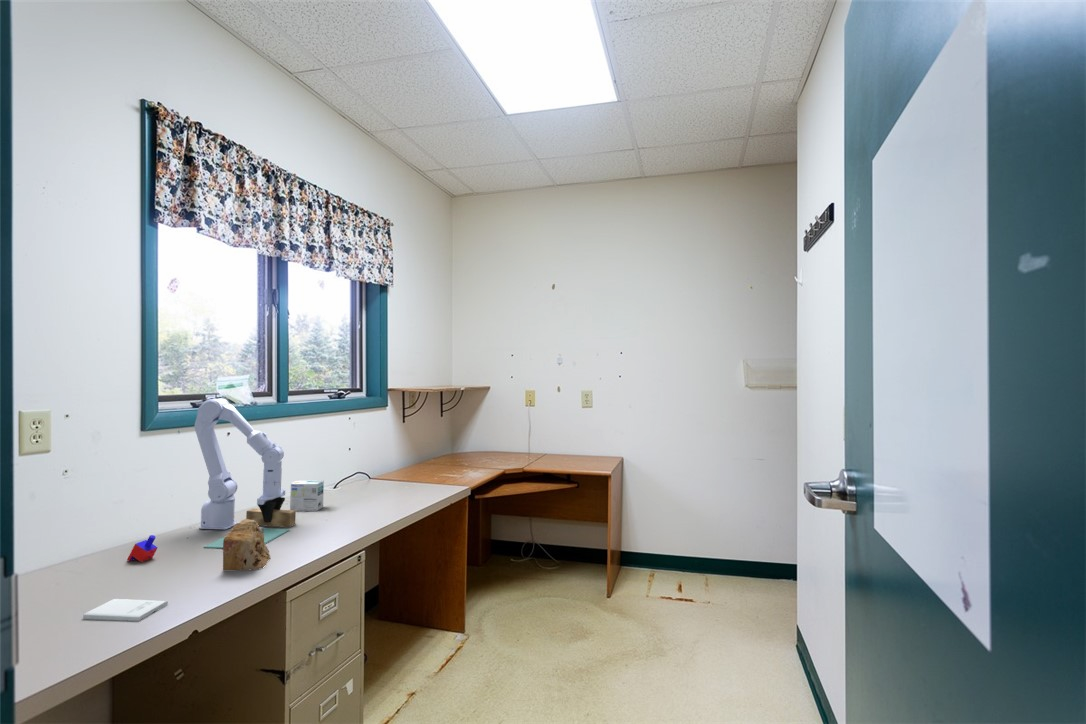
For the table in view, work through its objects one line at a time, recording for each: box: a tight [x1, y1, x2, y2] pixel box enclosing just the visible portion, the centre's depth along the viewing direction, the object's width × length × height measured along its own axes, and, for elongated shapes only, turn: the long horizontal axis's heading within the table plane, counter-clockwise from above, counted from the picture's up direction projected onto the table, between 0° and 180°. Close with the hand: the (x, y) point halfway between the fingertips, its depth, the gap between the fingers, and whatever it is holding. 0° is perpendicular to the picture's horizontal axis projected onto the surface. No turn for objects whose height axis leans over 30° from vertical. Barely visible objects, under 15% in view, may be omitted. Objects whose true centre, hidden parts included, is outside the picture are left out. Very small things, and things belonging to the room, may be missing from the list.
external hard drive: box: [82, 598, 169, 622], centre depth 116 cm, size 2×8×12 cm
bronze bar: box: [245, 508, 297, 528], centre depth 185 cm, size 16×4×5 cm, turn 85°
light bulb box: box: [289, 480, 325, 512], centre depth 207 cm, size 11×7×11 cm, turn 94°
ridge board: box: [203, 527, 291, 549], centre depth 169 cm, size 16×20×2 cm
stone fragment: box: [222, 518, 271, 571], centre depth 148 cm, size 14×10×15 cm
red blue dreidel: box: [126, 534, 158, 563], centre depth 148 cm, size 4×4×8 cm
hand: (270, 520), depth 185 cm, fingers closed on bronze bar, 4 cm apart
